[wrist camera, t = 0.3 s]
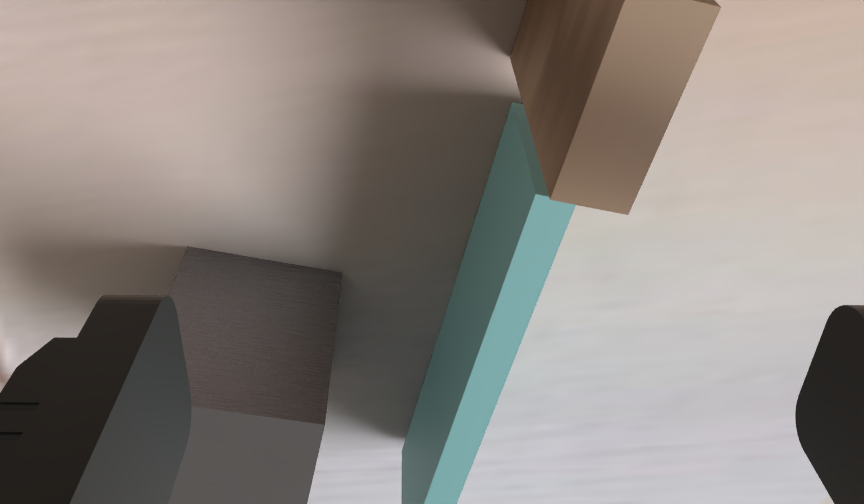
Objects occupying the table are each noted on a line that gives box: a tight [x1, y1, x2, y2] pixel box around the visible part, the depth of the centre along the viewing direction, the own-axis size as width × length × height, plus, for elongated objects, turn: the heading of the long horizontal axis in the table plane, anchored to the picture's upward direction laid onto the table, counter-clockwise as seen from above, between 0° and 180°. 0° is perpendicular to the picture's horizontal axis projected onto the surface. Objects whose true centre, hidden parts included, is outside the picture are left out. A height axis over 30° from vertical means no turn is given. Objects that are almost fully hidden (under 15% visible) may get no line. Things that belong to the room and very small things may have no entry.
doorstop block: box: [168, 247, 342, 504], centre depth 29 cm, size 6×6×8 cm
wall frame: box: [510, 0, 721, 215], centre depth 21 cm, size 5×2×9 cm, turn 167°
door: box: [402, 102, 575, 504], centre depth 29 cm, size 18×1×6 cm, turn 167°
